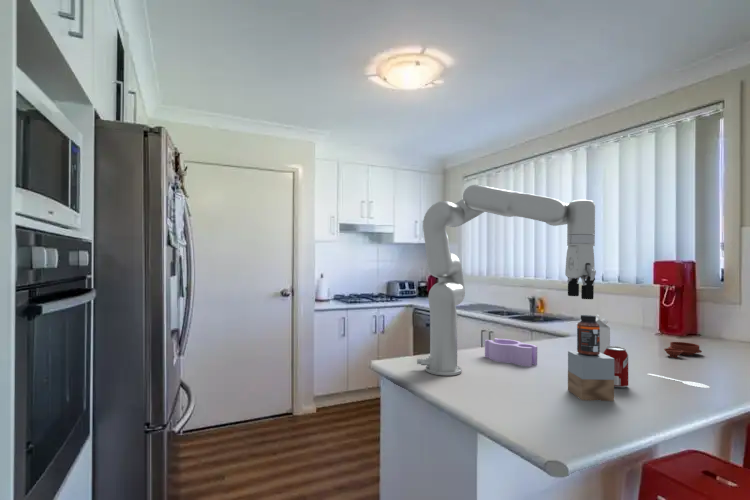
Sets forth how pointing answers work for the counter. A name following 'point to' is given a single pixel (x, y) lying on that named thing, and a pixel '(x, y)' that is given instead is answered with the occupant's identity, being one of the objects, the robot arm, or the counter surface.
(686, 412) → the counter surface
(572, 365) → the tower top block
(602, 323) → the milk carton
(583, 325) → the supplement bottle
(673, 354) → the pottery
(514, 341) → the clip
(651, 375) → the spoon
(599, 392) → the tower base block
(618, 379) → the soda can
